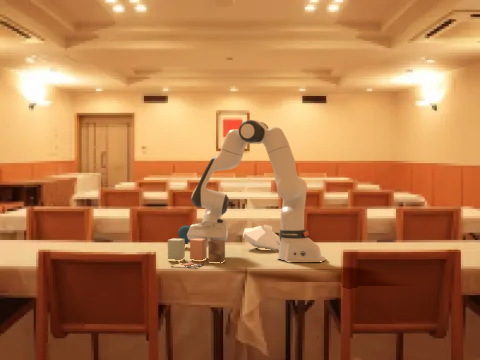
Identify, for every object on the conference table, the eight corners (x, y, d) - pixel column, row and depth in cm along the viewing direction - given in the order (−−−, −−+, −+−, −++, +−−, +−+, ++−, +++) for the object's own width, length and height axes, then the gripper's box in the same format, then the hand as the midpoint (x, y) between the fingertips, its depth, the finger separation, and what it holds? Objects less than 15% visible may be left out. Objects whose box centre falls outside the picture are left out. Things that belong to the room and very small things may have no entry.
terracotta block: (206, 259, 258) (206, 238, 257) (202, 261, 252) (202, 240, 252) (194, 259, 259) (194, 238, 259) (190, 261, 254) (189, 240, 253)
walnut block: (225, 261, 252) (224, 240, 252) (221, 264, 246) (220, 242, 246) (212, 261, 254) (212, 239, 253) (208, 263, 248) (208, 241, 248)
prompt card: (203, 264, 245) (203, 262, 245) (196, 268, 236) (196, 266, 236) (179, 263, 248) (178, 261, 248) (171, 267, 240) (171, 265, 240)
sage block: (184, 259, 258) (184, 238, 257) (179, 262, 252) (179, 240, 252) (173, 259, 259) (172, 238, 259) (167, 261, 254) (167, 240, 253)
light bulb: (186, 249, 288) (186, 226, 288) (175, 247, 293) (174, 225, 293) (197, 247, 295) (196, 225, 294) (185, 246, 300) (185, 224, 299)
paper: (276, 253, 273) (276, 229, 272) (233, 250, 284) (233, 226, 284) (294, 247, 295) (294, 224, 295) (254, 244, 306) (254, 221, 306)
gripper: (189, 219, 272) (182, 242, 263) (228, 220, 267) (222, 243, 257) (192, 227, 277) (185, 249, 267) (231, 228, 271) (225, 251, 262)
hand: (204, 246), depth 262 cm, fingers closed
